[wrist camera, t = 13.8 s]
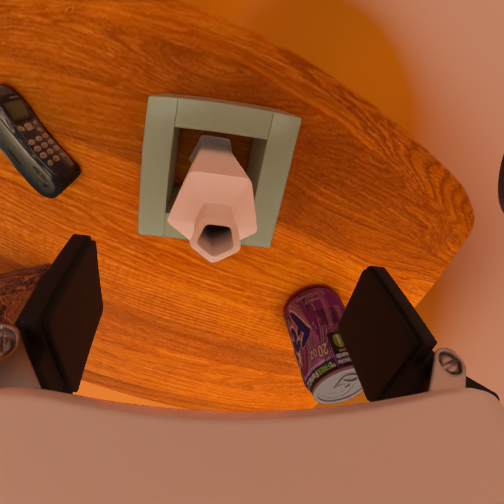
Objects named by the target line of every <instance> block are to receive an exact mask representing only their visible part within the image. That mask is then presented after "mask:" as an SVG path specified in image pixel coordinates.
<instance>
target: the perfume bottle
mask: <svg viewBox="0 0 504 504" xmlns="http://www.w3.org/2000/svg"><path fill="white" fill-rule="evenodd" d="M189 160H190V161H191V163H192V165H191V167H190V169H189V171H188V173H187V175H186V178H185V180H184V182H183V184H182V186H181V189H180V191H179V193H178V195H177V198H176V200H175V202H174V205H173V207H172V209H171V212H170V214H169V216H168V223H169V224H170V225H171V226H173V227H174V228H175V229H176V230H177V231H179V232H180V233H181V234H182V235H184V236H185V237H186V238H187V239H188V240H190V242H189V243H190V246H191V247H192V248H193V249H194V250H195V251H197V252H198V253H199V254H200V255H202V256H203V257H204V258H205V259H207V260H208V261H210V262H217V261H219V260H222V259H224V258H226V257H228V256H230V255H232V254H235V253H236V252H238V251H239V250H240V246H241V245H240V240H242V239H244V238H246V237H248V236H250V235H252V234H254V233H256V231H257V222H256V213H255V205H254V196H253V188H252V182H251V180H250V179H249V177H248V176H247V174H246V173H245V171H244V170H243V168H242V167H241V166H240V164H239V163H238V161H237V160H236V158H235V157H234V155H233V154H232V149H231V142H230V140H229V139H228V138H221V137H215V136H207V135H202V136H201V137H200V138H199V140H198V142H197V144H196V146H195V148H194V150H193V152H192V154H191V156H190V158H189Z"/></svg>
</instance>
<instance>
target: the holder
mask: <svg viewBox="0 0 504 504" xmlns="http://www.w3.org/2000/svg"><path fill="white" fill-rule="evenodd" d="M301 119H302V118H300V117H298V116H296V115H293V114H291V113H288V112H286V111H283V110H280V109H275V108H270V107H265V106H259V105H255V104H249V103H243V102H237V101H231V100H224V99H217V98H209V97H201V96H192V95H183V94H171V93H160V94H155V95H151V96H149V97H148V104H147V112H146V120H145V129H144V138H143V149H142V161H141V175H140V192H139V218H138V234H140V235H151V236H161V237H170V238H180V239H187V238H186V237H185V236H184V235H182V234H181V233H180V232H179V231H177V230H176V229H175V228H174V227H173V226H171V225H170V224H169V223H168V216H169V214H170V212H171V209H172V207H173V205H174V202H175V200H176V198H177V195H178V193H179V191H180V189H181V186H174V179H175V170H176V161H177V153H178V145H179V138H180V130H181V128H187V129H196V130H205V131H213V132H220V133H227V134H234V135H241V136H247V137H253V140H252V145H251V149H250V154H249V159H248V164H247V169H246V174H247V176H248V177H249V179H250V180H251V182H252V188H253V196H254V205H255V213H256V222H257V231H256V233H254V234H252V235H250V236H248V237H246V238H244V239H242V240H240V245H249V246H259V247H268V248H270V245H271V241H272V237H273V233H274V229H275V225H276V221H277V217H278V213H279V209H280V205H281V201H282V197H283V193H284V189H285V185H286V181H287V177H288V173H289V169H290V165H291V161H292V157H293V153H294V149H295V144H296V140H297V136H298V132H299V128H300V124H301Z"/></svg>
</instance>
